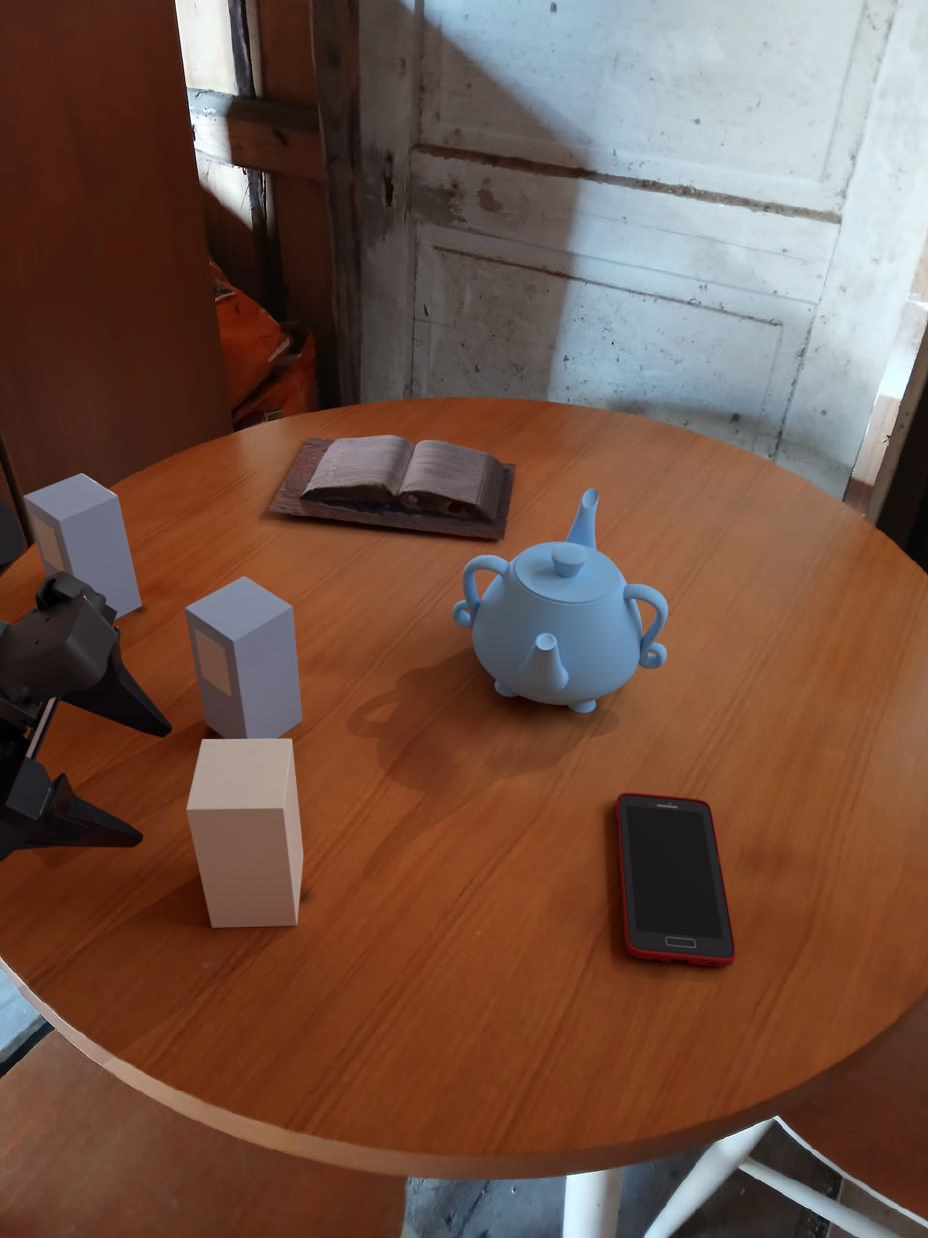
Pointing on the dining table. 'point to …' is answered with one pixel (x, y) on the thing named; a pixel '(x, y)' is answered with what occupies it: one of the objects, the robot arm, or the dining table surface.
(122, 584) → the block left
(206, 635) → the block right
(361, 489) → the book
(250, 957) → the dining table surface
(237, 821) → the cream block
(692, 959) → the cell phone
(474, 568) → the teapot
